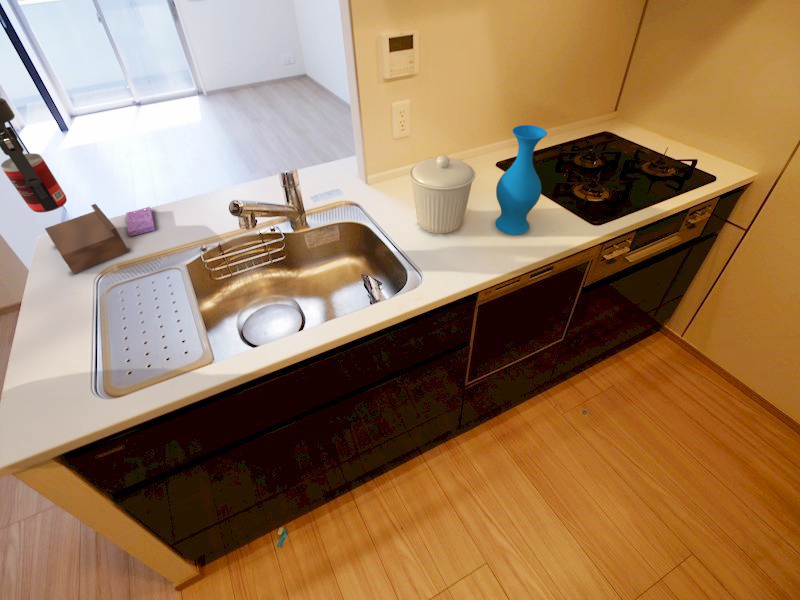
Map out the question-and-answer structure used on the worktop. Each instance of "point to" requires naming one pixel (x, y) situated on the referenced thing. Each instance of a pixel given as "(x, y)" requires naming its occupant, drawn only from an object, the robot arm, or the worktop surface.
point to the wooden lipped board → (87, 240)
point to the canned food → (19, 181)
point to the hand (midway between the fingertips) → (47, 201)
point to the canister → (441, 192)
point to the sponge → (140, 221)
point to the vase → (519, 183)
